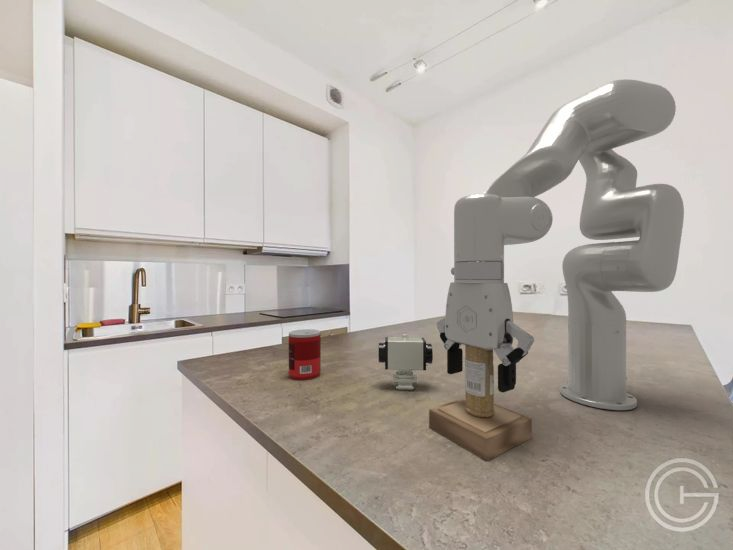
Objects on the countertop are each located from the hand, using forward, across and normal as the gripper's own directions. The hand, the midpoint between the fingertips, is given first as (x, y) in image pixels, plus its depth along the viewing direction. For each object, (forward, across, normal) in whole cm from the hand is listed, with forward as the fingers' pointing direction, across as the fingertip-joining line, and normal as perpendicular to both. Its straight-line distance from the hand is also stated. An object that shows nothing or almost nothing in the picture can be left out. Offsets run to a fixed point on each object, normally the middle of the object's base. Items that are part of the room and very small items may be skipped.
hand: (478, 380), depth 49 cm
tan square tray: (+8, 0, 0) cm, 8 cm away
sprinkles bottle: (+5, 0, 0) cm, 5 cm away
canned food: (+8, -42, -13) cm, 45 cm away
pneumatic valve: (+8, -22, +3) cm, 24 cm away
